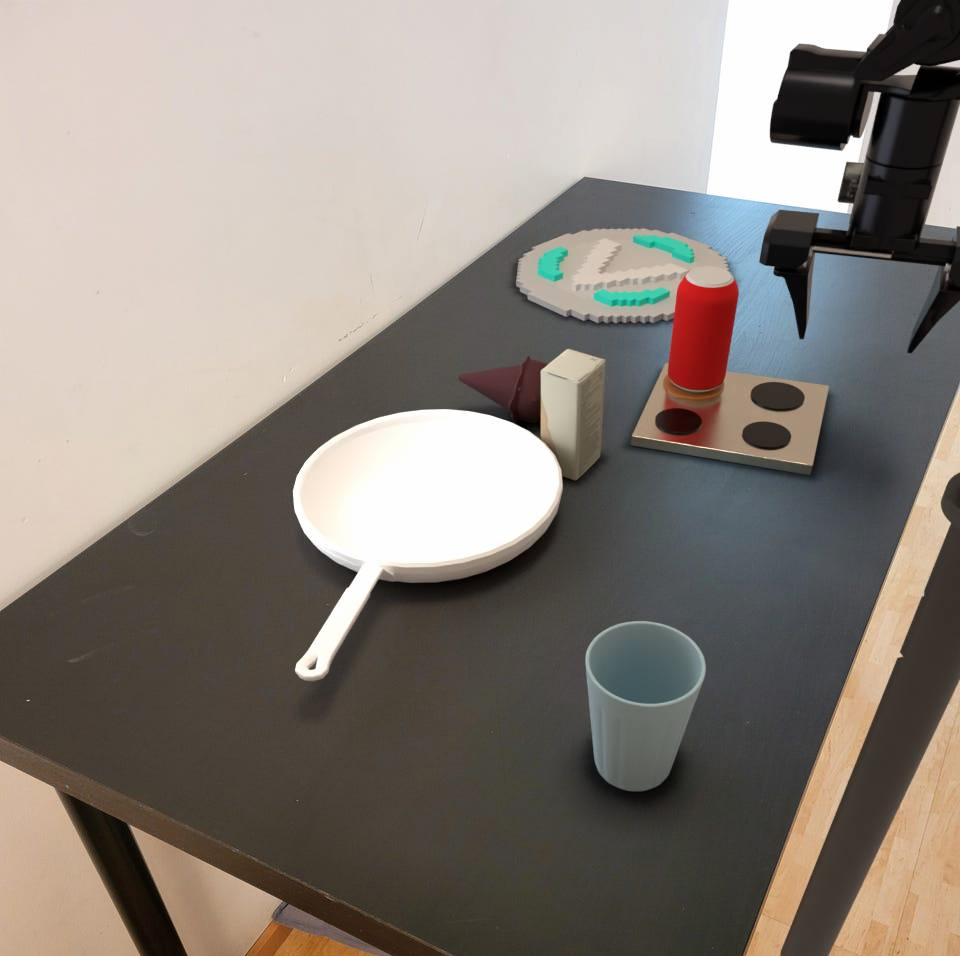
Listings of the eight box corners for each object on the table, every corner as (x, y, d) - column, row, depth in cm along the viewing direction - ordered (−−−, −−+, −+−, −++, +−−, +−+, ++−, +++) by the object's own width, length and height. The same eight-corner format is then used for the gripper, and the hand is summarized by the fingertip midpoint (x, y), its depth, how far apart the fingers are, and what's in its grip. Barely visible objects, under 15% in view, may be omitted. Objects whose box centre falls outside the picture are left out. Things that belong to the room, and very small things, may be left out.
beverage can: (699, 403, 99) (715, 294, 91) (654, 382, 103) (666, 275, 94) (735, 383, 102) (754, 274, 94) (691, 363, 105) (705, 257, 97)
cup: (707, 752, 68) (727, 651, 61) (652, 824, 64) (667, 724, 56) (617, 706, 71) (626, 605, 64) (560, 771, 67) (563, 671, 60)
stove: (827, 395, 102) (829, 383, 101) (810, 475, 92) (813, 463, 91) (664, 371, 107) (665, 360, 106) (630, 445, 97) (631, 434, 96)
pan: (588, 460, 95) (590, 423, 92) (469, 750, 69) (466, 711, 66) (361, 427, 101) (356, 391, 98) (172, 682, 75) (157, 644, 72)
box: (566, 445, 97) (569, 345, 89) (602, 457, 95) (608, 357, 87) (538, 469, 94) (539, 369, 86) (574, 483, 92) (579, 381, 84)
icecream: (445, 376, 95) (588, 405, 93) (467, 327, 99) (605, 354, 96) (449, 424, 101) (583, 452, 99) (469, 376, 105) (600, 402, 102)
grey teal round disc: (475, 275, 128) (475, 263, 126) (618, 218, 140) (618, 207, 139) (627, 345, 112) (628, 332, 111) (772, 274, 124) (774, 262, 123)
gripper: (1031, 133, 76) (967, 318, 86) (794, 117, 81) (762, 293, 92) (1037, 181, 68) (967, 375, 79) (776, 160, 73) (743, 345, 84)
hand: (854, 344), depth 84 cm, fingers open, 9 cm apart
